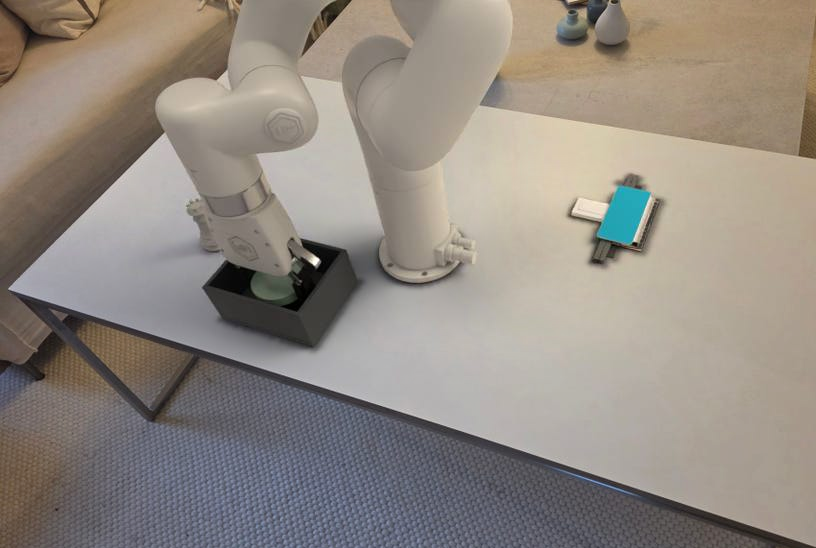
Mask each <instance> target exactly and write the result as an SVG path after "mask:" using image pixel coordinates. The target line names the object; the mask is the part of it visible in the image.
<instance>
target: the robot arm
mask: <svg viewBox="0 0 816 548" xmlns="http://www.w3.org/2000/svg"><path fill="white" fill-rule="evenodd" d="M336 1H337V0H242V2H241V6H240V9H239V12H238V16H237V19H236V24H235V28H234V32H233V36H232V39H231V43H230V48H229V53H228V58H227V78H228V83H229V86H230V89H228V88H227V87H226V86H225V85H224V84H222V83H221V82H220V81H218V80H215V79H212V78H208V77H192V78H186V79H183V80H180V81H177V82H174V83H173V84H171V85H169V86H168V87H166V88H165V89H163V90H162V91H161V93H159V95H158V96H157V98H156V100H155V105H154V111H155V116H156V118H157V120H158V122H159V124H160V126H161V128H162V130H163V131H164V133H165V135H166V137H167V139H168V141H169V142H170V144H171V146H172V148H173V150H174V151H175V153H176V155H177V157H178V158H179V160H180V163H181V164H182V166H183V168H184V170H185V171H186V173H187V175H188V177H189V179H190V180H191V182H192V185H193V186H194V188H195V189H196V191H197V193H198V195H199V197H200V199H202V208H203V212H204V215H205V218H206V221H207V224H208V226H209V229H210V231H211V233H212V236H211V237H210V239H211V240H212V241H213V242H214V243H215V244H216V245H218V247H219V249H220V250H219V252H220V253H221V255H222V256H223V258H224V260H227V261H229V262H231V263H233V264H234V265H235V266H236V267H237V268H239V269H241V268H242V269H241V270H240V271H241V272H242V274H243V276H244V278H245V280H246V281H247V283H248V285H249V287H250V288H251V280H252V278H253V276H254V274H255V273H256V272H257V271H259V272H263V273H267V274H270V275H274V276H288V277H289V278H290V279H291V280H292V281H293V284H292V287H293V289H294V291H295V293H296V296H297V298H298V300H299V302H300V303H301V304H304V302H305V301H306V299H307V298H308V297H309V295H310V294H311V292H312V291H313V290H314V288H315V284H314V282H313V280H312V277H311V275H312V274H313V273H314V271H315V270H316V269H317V267H318V266H319V265H320V263H321V260H320V259H319V258H317V257H316V256H314V255H313V254H312V253H310V252H309V251H308V250H306V249H305V248H303V246H302V243H301V240H300V238H301V237H300V236H299V234H298V231H297V229H296V227H295V225H294V223H293V221H292V219H291V218H290V216H289V214H288V212H287V210H286V208H284V206H283V204H282V202H281V200H280V199H279V198H278V197H277V195H276V194H275V193H274V192H273V191H272V187H271V185H270V183H269V181H268V179H267V176H266V174H265V171H264V169H263V167H262V164H261V161H260V159H259V158H258V154H269V153H283V152H287V151H292V150H295V149H299V148H301V147H303V146H305V145H306V144H308V143H309V142H310V141H311V140H312V139H313V138H314V137H315V135H316V133H317V131H318V128H319V119H320V118H319V113H318V110H317V106H316V104H315V100H314V99H313V97H312V96H311V93H310V91H309V89H308V88H307V86H306V83H305V82H304V80H303V78H302V76H301V74H300V72H299V65H300V62H301V59H302V56H303V52H304V49H305V46H306V43H307V40H308V37H309V35H310V32H311V29H312V27H313V26H314V23H315V22H316V20H317V18H318V16H319V15H320V14H321V13H322V11H323V10H324V9H325V8H326V7H327V6H328V5H330V4H331V3H333V2H336ZM389 2H390V3H389V4H390V7H391V10H392V13H393V15H394V16H395V19H396V20H397V21H398V22H397V23H399V25H400V27H401V28H402V29H403V31H404V32H405V33H406V35H408V37H409V38H410V40H412V45H411V47H410V46H409V45H407V44H406V43H405V42H403V41H401V40H400V39H398V38H395V37H393V36H389V35H383V34H376V35H370V36H368V37H365V38H363V39H362V40H360V41H358V42H357V43H356V44H355V45H354V46H353V47H352V48H351V49H350V51H349V52H348V54H347V55H346V57H345V60H344V62H343V66H342V69H341V70H342V72H341V89H342V94H343V97H344V102H345V104H346V107H347V110H348V114H349V117H350V119H351V123H352V125H353V127H354V131H355V133H356V137H357V140H358V143H359V145H360V149H361V152H362V156H363V160H364V163H365V167H366V170H367V174H368V178H369V183H370V187H371V190H372V194H373V197H374V202H375V205H376V209H377V213H378V217H379V220H380V224H381V228H382V231H383V236H384V237H383V238H382V240H381V242H380V245H379V249H378V257H379V260H380V264H381V266H382V267H383V269H384V271H385V272H386V273H387V274H388V275H389V276H391V277H393V278H394V279H396V280H399V281H402V282H405V283H410V284H411V283H412V284H413V283H416V284H420V283H428V282H432V281H437V280H438V279H441V278H443V277H445V276H446V275H448V274H449V273H451V272H452V271H454V270H455V268H457V266H458V265H459V263H460V262H461V263H462V264H466V265H470V266H474V265H476V262H477V258H478V252H477V251H473V249H474V248H475V246H476V241H475V240H474V239H471V238H464V237H463V236H462V235H461V233H460V232H459V230H458V225H457V224H455V223H451V222H450V216H449V215H450V214H449V208H448V201H447V195H446V187H445V181H444V180H445V179H444V174H443V166H442V160H443V159H444V158H445V157H446V156H447V155H448V154H449V153H450V151H452V149H453V148H454V146H455V145H456V144H457V142H458V141H459V140H460V138H461V136H462V135H463V133H464V131H465V129H466V128H467V126H468V124H469V123H470V121H471V119H472V118H473V116H474V115H475V112H476V111H477V109H478V108H479V106H480V104H481V102H482V100H483V99H484V97H485V96H486V94H487V92H488V90H489V89H490V87H491V85H492V83H493V82H494V80H495V79H496V77H497V75H498V73H499V72H500V69H501V68H502V66H503V64H504V62H505V60H506V58H507V56H508V52H509V50H510V45H511V41H512V38H513V37H512V36H513V31H514V30H513V29H514V17H513V11H512V7H511V3H510V1H509V0H389ZM295 263H296V264H297V265H298V266H299V267H300V268H301V270H300V271H299V272H298V274H297V273H296V272H295V271H294V270H293V269H292V267H293V265H294V264H295Z"/></svg>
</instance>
